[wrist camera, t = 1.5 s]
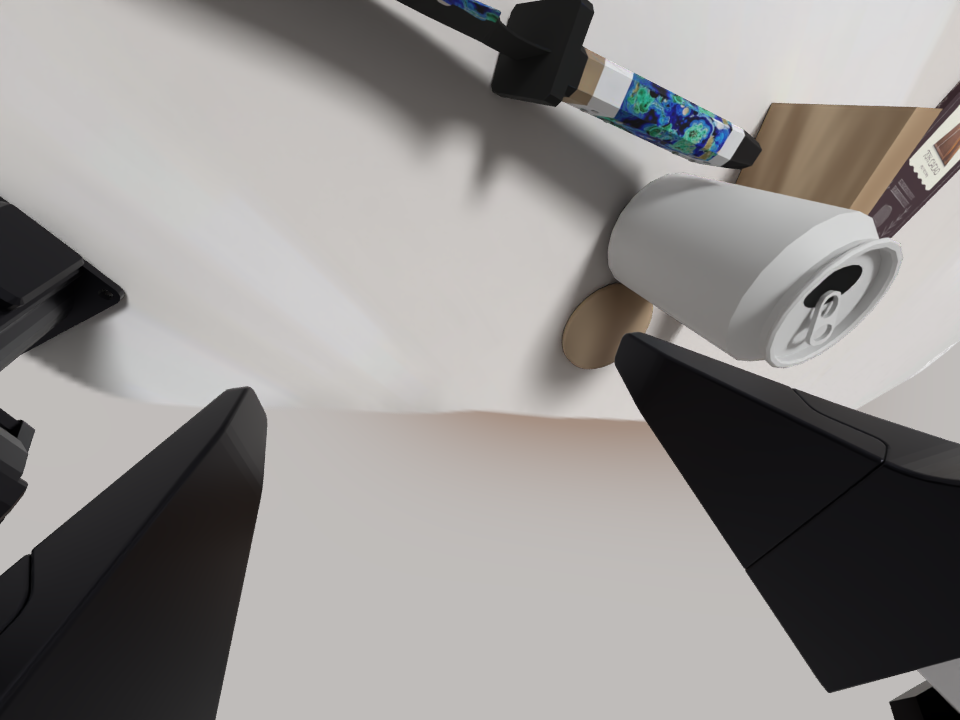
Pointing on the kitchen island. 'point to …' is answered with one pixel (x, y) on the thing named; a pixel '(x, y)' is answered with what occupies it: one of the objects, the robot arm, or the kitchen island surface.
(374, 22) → the kitchen island surface
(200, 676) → the robot arm
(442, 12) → the knife
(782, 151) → the plinth board
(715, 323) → the can
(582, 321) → the coaster
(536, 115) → the kitchen island surface
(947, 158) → the chocolate bar
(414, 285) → the kitchen island surface
